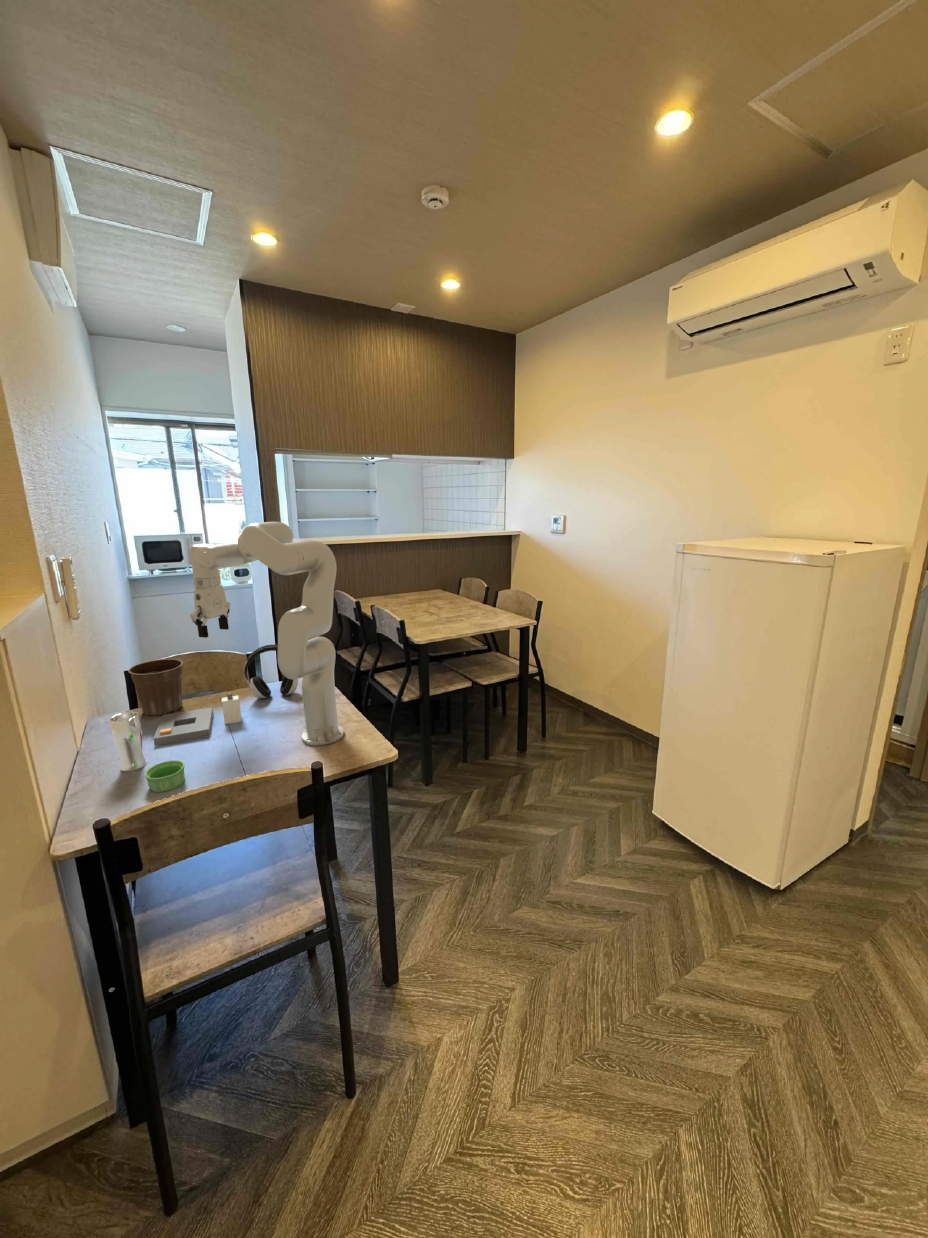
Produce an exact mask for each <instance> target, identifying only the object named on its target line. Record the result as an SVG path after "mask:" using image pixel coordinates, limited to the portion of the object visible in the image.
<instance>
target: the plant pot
mask: <svg viewBox="0 0 928 1238" xmlns="http://www.w3.org/2000/svg"><path fill="white" fill-rule="evenodd" d="M183 665H184V662H183V661H182V660H181V659H175V658H163V659H154V660H149V661H144V662H141V663H138V664H134V665H132V666H131V667H129V669H128V671H127V672H128V673H129V674H130V676H131V680H132V683H134V687H135V689H136V693H137V697H138V701H139V704H140V707H141V708H140V709H141V712H142V714H144V715H146V716H150V717H151V716H153V717H155V716H156V715H158V716H162V714H164V715H166V714H165V713H168V714H170V713H171V712H173V711H174V712H176V711H178V710H179V709H181V708H182V707H181V706H183V693H182V690H183V689H182V675H183V669H182V668H183Z"/></svg>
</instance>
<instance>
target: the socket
mask: <svg viewBox="0 0 928 1238" xmlns="http://www.w3.org/2000/svg"><path fill="white" fill-rule="evenodd" d="M213 710H214V709H213V707H212V706H211V707H206V708H200V709H198V708H197V709H194V710H192V709H191V710H187V711H181V712H173V713H168V714H164V715H161V718H160V720H159V723H158V725H157V727H156V728H157V729H156V730H155V734H154V736H153V745H154V746H155V745H157V746H161V745H167V743H168V744H172V742H174V743H179V742H184V741H189V740H196V739H201V738H208V737H210V736H211V733H212V732H211V731H212V724H213V719H214V711H213Z"/></svg>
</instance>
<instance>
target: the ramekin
mask: <svg viewBox="0 0 928 1238" xmlns="http://www.w3.org/2000/svg"><path fill="white" fill-rule="evenodd" d="M144 777H145V779H146V781H147V785H148V788H149V790H151V792H154V793H164V792H163V791H165V792H168V791H167V790H169V791H171V789H172V790H174V789H176V788H179V786H181V785H182V784H183V783H184V782H185V779H186V777H185V763H184V761H181V760H175V759H174V760H173V759H172V760H166V761H161V762H159V763H156V764H154V765H153V766H151V767H149V768H147V770H146V771H145V773H144Z"/></svg>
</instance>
